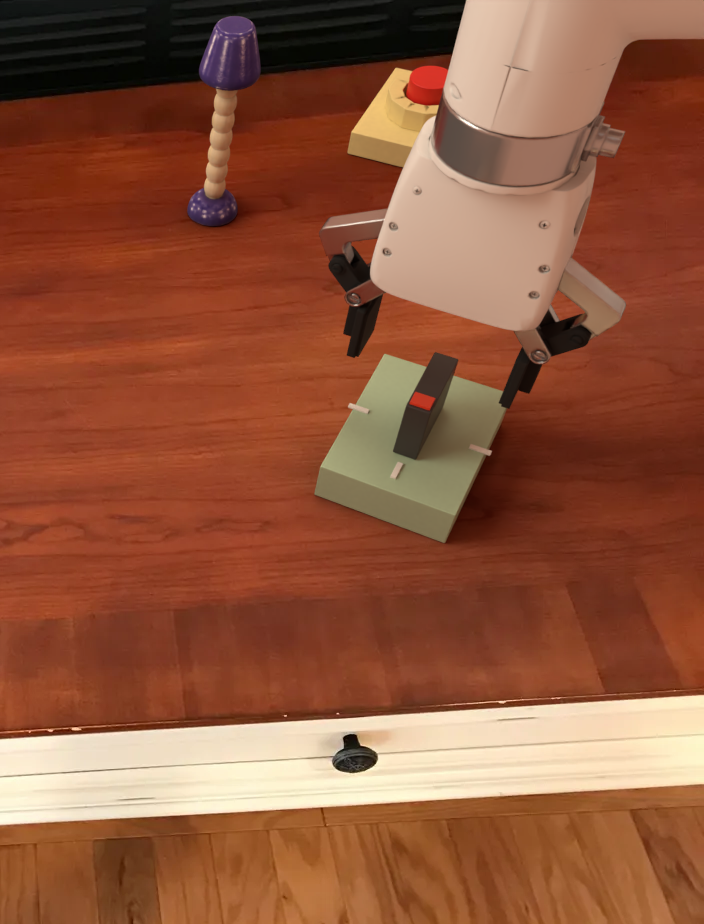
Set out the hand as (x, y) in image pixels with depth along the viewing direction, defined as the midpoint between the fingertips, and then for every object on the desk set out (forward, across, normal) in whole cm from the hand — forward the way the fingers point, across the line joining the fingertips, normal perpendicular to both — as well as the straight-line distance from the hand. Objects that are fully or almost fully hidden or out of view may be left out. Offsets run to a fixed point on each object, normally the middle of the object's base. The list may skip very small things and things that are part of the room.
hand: (433, 368), depth 73 cm
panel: (+9, 0, 0) cm, 9 cm away
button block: (+9, +12, -37) cm, 40 cm away
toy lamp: (+9, +23, -20) cm, 32 cm away
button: (+5, +12, -37) cm, 39 cm away
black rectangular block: (+6, 0, 0) cm, 6 cm away
